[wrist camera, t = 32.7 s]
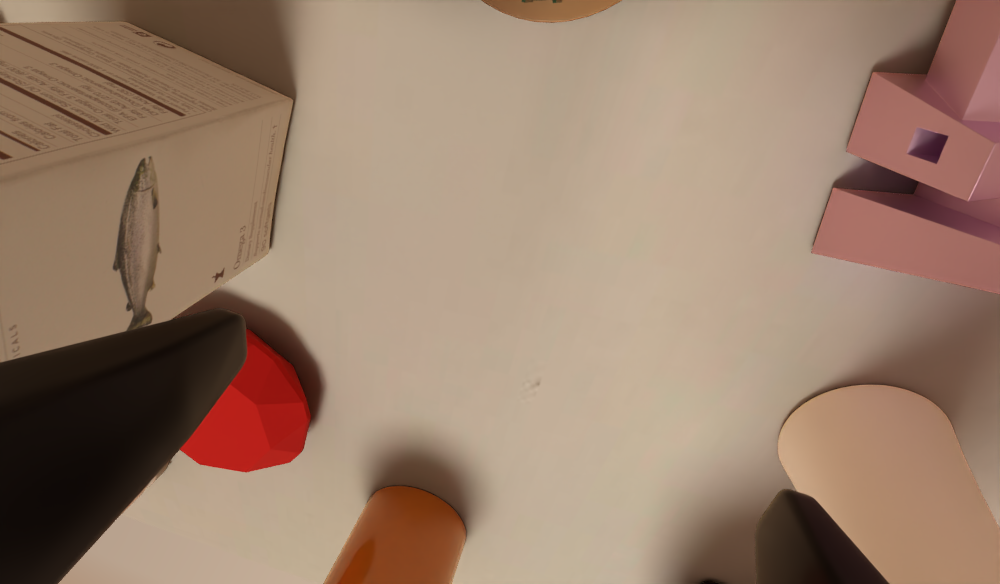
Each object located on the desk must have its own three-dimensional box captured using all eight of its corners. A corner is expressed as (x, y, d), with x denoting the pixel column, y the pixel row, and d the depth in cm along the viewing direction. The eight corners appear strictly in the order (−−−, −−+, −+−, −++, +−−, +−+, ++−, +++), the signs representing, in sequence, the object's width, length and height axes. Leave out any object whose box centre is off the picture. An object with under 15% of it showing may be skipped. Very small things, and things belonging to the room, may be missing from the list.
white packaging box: (274, 257, 24) (-36, 475, 13) (122, 185, 24) (-314, 341, 13) (303, 96, 20) (-105, 214, 9) (122, 10, 20) (-504, 23, 9)
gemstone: (164, 402, 30) (120, 440, 28) (166, 276, 26) (114, 307, 23) (308, 467, 30) (277, 511, 28) (336, 353, 25) (302, 392, 23)
